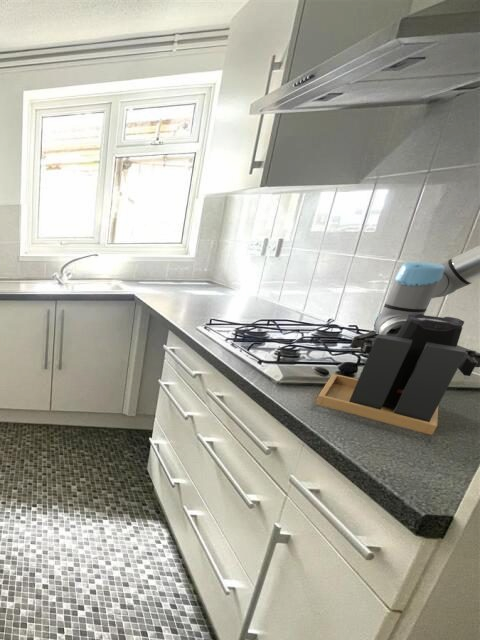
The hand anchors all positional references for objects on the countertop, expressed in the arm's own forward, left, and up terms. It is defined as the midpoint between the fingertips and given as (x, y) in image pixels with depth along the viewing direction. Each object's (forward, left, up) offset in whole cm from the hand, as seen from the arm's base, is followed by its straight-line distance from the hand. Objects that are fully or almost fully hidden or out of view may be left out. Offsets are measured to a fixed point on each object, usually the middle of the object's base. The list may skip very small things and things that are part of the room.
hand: (421, 361), depth 83 cm
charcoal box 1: (+5, +5, -11) cm, 13 cm away
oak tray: (+4, -1, -12) cm, 13 cm away
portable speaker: (+1, -3, -12) cm, 12 cm away
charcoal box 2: (-2, +5, -11) cm, 12 cm away
